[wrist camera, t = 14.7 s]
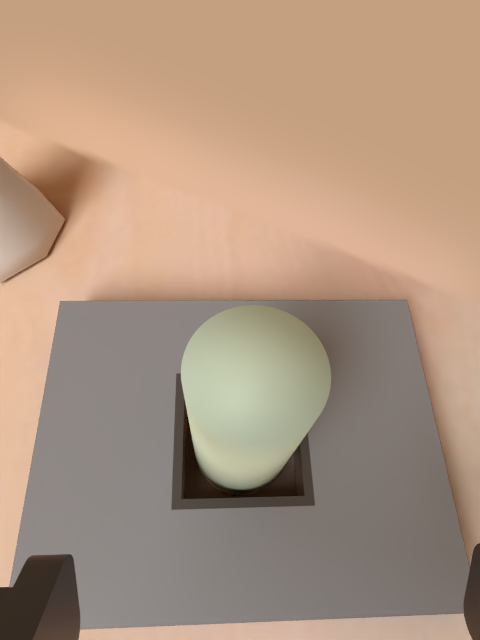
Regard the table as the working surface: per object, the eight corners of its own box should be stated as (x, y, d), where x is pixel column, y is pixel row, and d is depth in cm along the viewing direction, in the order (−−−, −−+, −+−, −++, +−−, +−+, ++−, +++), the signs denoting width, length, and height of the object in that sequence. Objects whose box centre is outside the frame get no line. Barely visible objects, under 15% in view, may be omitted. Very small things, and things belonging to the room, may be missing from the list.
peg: (281, 402, 23) (322, 304, 15) (288, 494, 21) (340, 444, 12) (195, 403, 23) (183, 304, 14) (194, 496, 21) (178, 447, 12)
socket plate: (393, 317, 26) (406, 299, 24) (456, 608, 19) (480, 612, 18) (71, 319, 25) (60, 301, 23) (21, 626, 18) (1, 632, 17)
